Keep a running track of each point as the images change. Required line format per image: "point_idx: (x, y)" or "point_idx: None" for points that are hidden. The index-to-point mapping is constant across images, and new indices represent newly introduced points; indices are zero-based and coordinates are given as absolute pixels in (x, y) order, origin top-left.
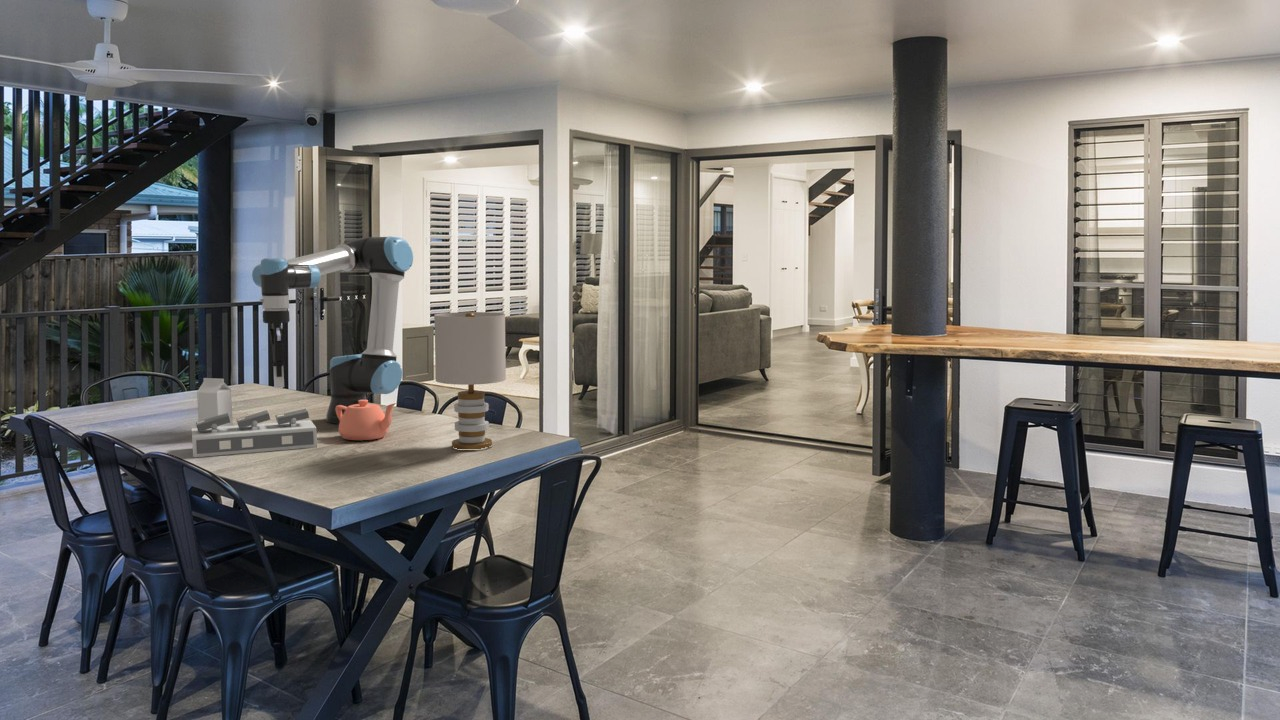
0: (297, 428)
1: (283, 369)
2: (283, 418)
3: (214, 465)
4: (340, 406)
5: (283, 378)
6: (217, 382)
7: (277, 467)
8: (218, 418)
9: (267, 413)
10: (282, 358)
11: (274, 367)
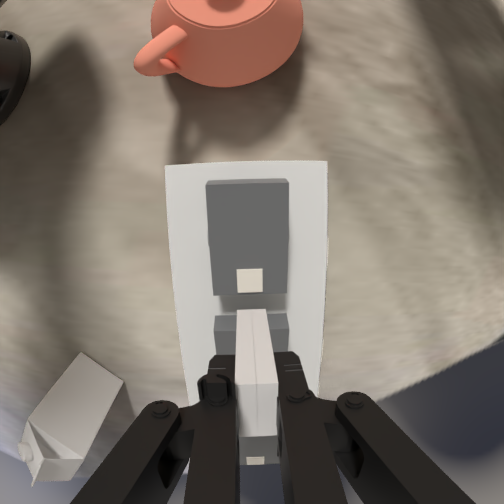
0: (316, 221)
1: (274, 366)
2: (287, 271)
3: (396, 382)
4: (161, 52)
5: (268, 334)
6: (43, 466)
7: (471, 273)
8: (276, 440)
9: (287, 331)
10: (393, 430)
11: (275, 427)
